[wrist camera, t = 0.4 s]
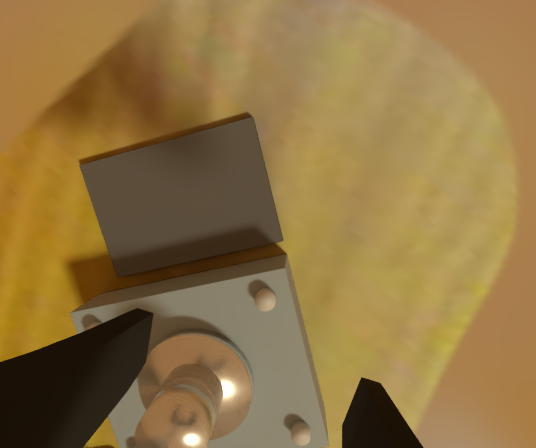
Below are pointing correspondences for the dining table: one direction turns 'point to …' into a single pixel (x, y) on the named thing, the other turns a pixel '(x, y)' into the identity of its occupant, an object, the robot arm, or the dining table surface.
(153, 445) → the end cap
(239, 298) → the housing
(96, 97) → the dining table surface
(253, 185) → the mat
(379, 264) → the dining table surface
